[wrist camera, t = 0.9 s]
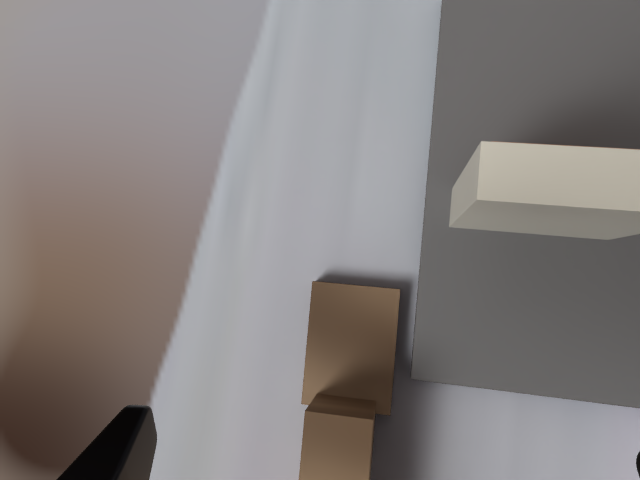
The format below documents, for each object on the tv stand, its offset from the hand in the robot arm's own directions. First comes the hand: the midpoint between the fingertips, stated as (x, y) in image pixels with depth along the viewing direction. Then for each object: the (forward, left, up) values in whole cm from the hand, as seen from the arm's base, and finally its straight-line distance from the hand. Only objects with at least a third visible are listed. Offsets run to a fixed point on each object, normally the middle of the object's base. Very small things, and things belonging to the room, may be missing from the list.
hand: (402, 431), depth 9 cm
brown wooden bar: (-7, +2, -12) cm, 14 cm away
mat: (+7, -6, -12) cm, 15 cm away
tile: (+6, -5, -11) cm, 14 cm away
